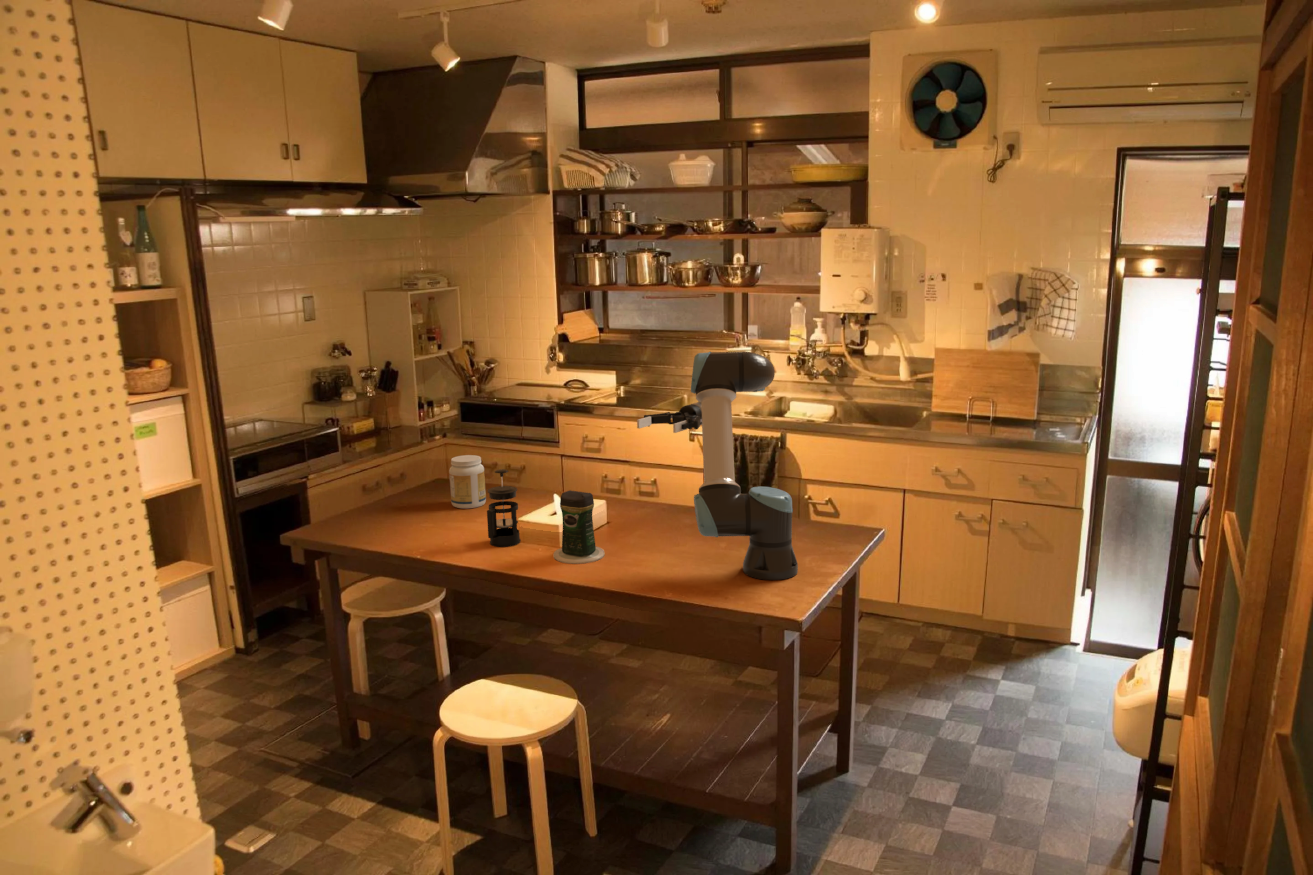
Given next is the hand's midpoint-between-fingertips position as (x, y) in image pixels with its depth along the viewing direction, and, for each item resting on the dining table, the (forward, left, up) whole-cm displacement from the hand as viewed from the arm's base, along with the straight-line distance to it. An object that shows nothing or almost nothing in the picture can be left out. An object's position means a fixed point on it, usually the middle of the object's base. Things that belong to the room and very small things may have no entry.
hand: (655, 426), depth 292 cm
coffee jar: (-11, +28, -34) cm, 45 cm away
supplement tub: (+57, +52, -35) cm, 85 cm away
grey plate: (-11, +28, -35) cm, 46 cm away
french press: (+9, +47, -35) cm, 59 cm away
